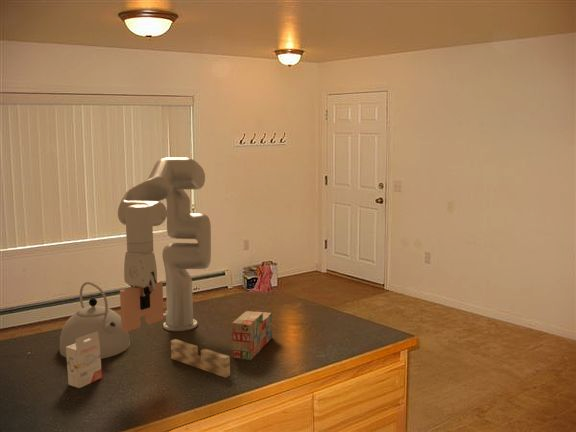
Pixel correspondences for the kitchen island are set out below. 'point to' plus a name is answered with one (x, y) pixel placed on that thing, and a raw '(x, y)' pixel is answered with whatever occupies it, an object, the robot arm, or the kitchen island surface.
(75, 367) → the ink cartridge box
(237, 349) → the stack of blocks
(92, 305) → the kettle
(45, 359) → the kitchen island surface
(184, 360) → the oak notched board
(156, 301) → the terracotta slotted plate
